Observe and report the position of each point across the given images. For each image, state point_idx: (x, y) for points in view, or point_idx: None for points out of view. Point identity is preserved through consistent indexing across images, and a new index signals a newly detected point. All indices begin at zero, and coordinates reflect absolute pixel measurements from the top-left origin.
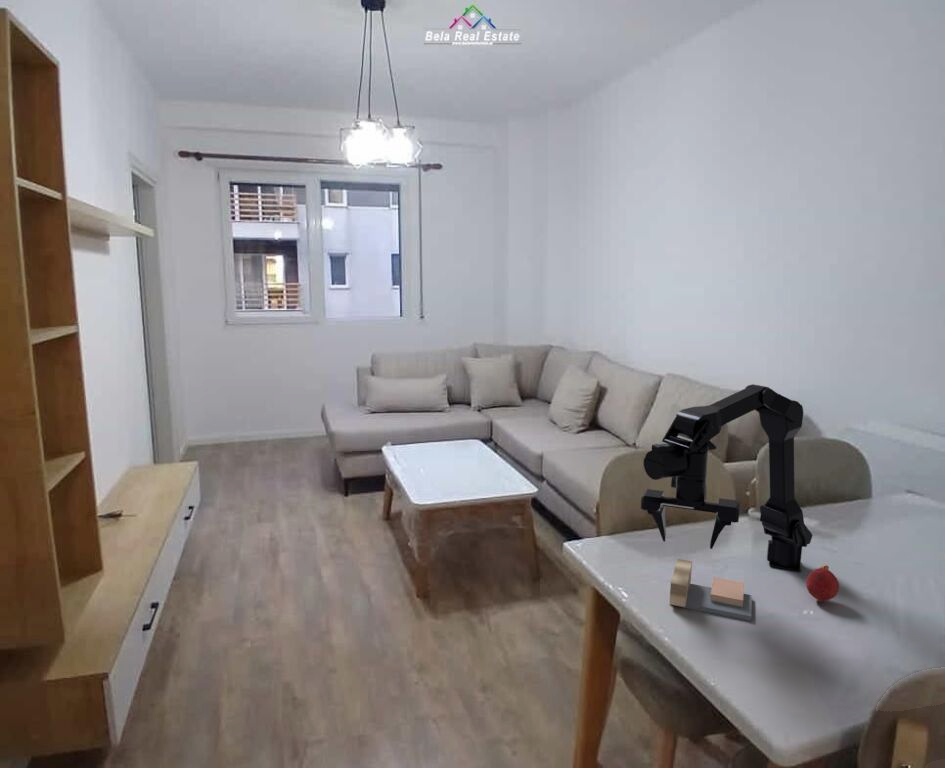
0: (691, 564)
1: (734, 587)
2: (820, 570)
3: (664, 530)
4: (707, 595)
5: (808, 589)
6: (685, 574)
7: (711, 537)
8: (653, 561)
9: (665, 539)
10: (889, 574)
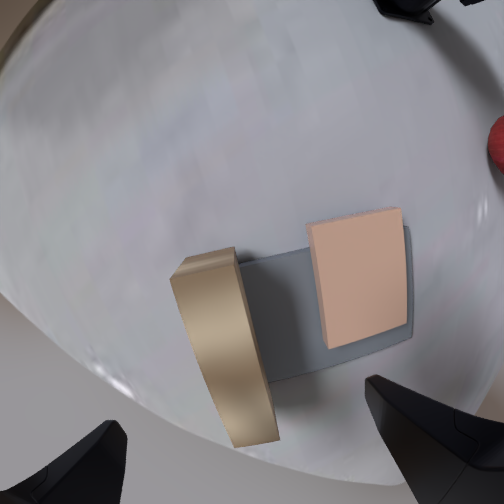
0: (241, 293)
1: (383, 261)
2: None
3: (115, 496)
4: (308, 311)
5: (498, 161)
6: (252, 390)
7: (397, 455)
8: (83, 155)
9: (120, 433)
10: (493, 15)
